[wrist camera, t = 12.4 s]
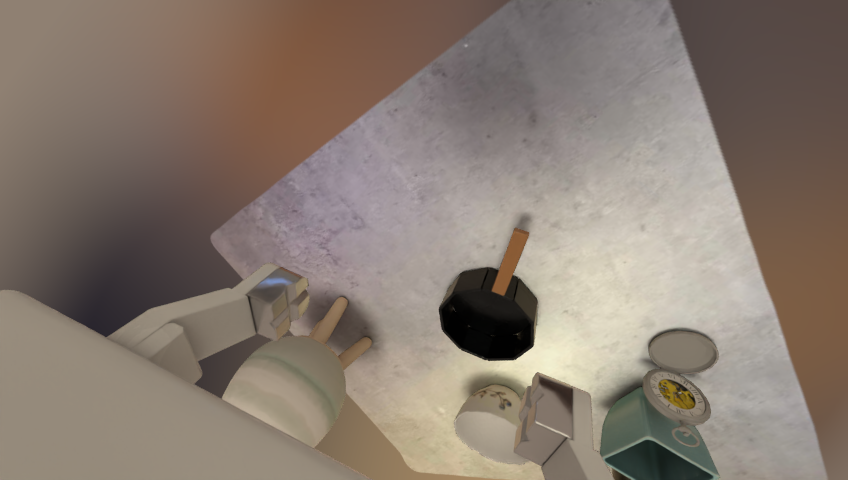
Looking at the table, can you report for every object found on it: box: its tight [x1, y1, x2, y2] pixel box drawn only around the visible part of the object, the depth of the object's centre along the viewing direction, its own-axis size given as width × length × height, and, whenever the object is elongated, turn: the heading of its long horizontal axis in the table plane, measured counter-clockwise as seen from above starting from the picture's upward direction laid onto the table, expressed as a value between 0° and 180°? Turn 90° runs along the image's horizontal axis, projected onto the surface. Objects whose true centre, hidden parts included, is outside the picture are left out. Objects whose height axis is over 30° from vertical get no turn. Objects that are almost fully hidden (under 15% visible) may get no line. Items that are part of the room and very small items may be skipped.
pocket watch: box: [642, 331, 719, 447], centre depth 37 cm, size 8×8×10 cm
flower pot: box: [600, 387, 720, 480], centre depth 43 cm, size 9×9×9 cm
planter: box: [222, 297, 372, 448], centre depth 54 cm, size 16×16×22 cm
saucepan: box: [439, 228, 537, 361], centre depth 43 cm, size 21×13×5 cm, turn 171°
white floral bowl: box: [454, 384, 531, 465], centre depth 55 cm, size 15×12×8 cm
